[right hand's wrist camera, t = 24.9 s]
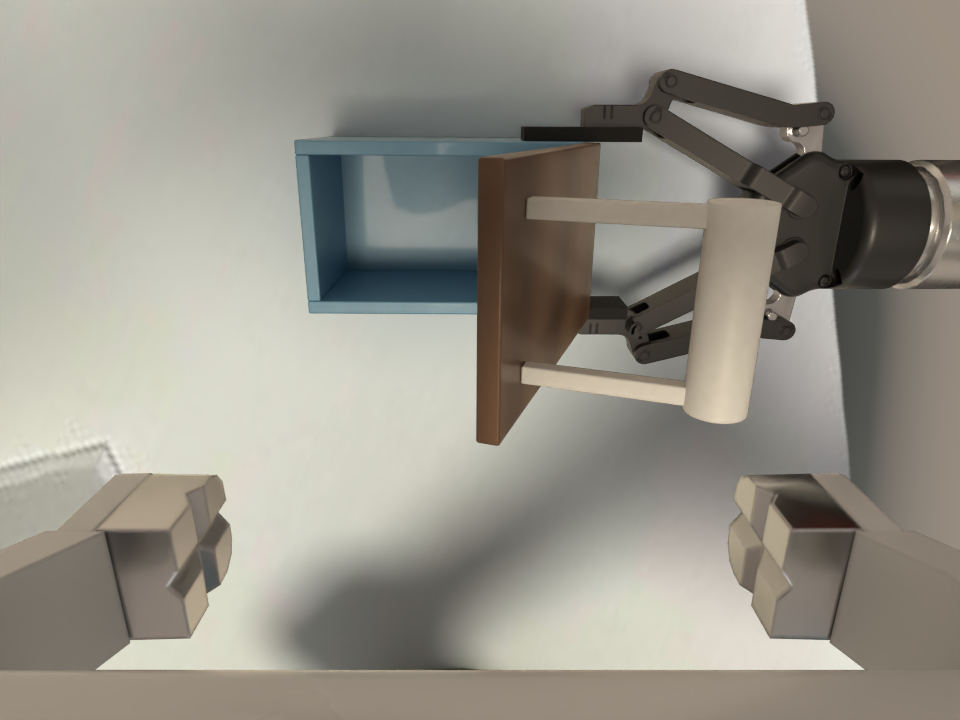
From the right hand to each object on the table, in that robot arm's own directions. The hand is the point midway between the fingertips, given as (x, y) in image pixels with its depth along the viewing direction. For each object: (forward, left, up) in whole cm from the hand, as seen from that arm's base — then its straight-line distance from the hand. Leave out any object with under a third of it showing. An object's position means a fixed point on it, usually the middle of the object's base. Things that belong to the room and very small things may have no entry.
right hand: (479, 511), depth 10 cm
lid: (+2, +2, -19) cm, 19 cm away
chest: (-2, -1, -36) cm, 37 cm away
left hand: (+2, +1, -30) cm, 30 cm away
